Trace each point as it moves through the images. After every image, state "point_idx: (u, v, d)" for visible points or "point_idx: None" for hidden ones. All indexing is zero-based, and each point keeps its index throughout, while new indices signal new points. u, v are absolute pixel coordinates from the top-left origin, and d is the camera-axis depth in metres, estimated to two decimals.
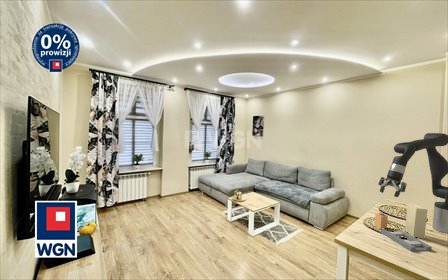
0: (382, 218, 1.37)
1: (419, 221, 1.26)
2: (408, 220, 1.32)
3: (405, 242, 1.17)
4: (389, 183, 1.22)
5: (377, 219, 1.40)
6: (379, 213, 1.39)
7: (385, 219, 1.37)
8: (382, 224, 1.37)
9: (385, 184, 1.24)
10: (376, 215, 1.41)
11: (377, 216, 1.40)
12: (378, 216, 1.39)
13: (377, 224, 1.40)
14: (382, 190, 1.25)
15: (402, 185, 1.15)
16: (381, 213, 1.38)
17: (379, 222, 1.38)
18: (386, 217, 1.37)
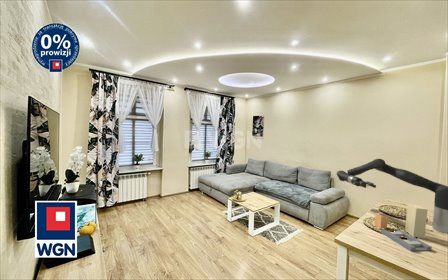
0: (382, 218, 1.37)
1: (419, 221, 1.26)
2: (408, 220, 1.32)
3: (405, 242, 1.17)
4: (364, 185, 1.56)
5: (377, 219, 1.40)
6: (379, 213, 1.39)
7: (385, 219, 1.37)
8: (382, 224, 1.37)
9: (367, 185, 1.55)
10: (376, 215, 1.41)
11: (377, 216, 1.40)
12: (378, 216, 1.39)
13: (377, 224, 1.40)
14: (373, 186, 1.50)
15: None
16: (381, 213, 1.38)
17: (379, 222, 1.38)
18: (386, 217, 1.37)
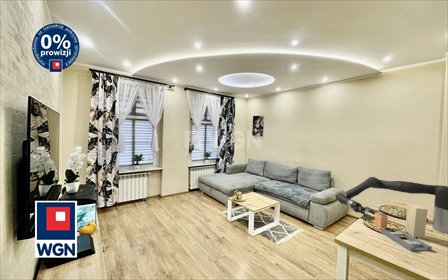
0: (382, 218, 1.37)
1: (419, 221, 1.26)
2: (408, 220, 1.32)
3: (405, 242, 1.17)
4: None
5: (377, 219, 1.40)
6: (379, 213, 1.39)
7: (385, 219, 1.37)
8: (382, 224, 1.37)
9: (366, 211, 1.56)
10: (376, 215, 1.41)
11: (377, 216, 1.40)
12: (378, 216, 1.39)
13: (377, 224, 1.40)
14: (372, 212, 1.51)
15: None
16: (381, 213, 1.38)
17: (379, 222, 1.38)
18: (386, 217, 1.37)
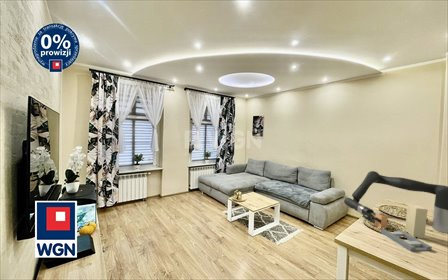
0: (382, 218, 1.37)
1: (419, 221, 1.26)
2: (408, 220, 1.32)
3: (405, 242, 1.17)
4: None
5: None
6: (379, 213, 1.39)
7: (385, 219, 1.37)
8: (382, 224, 1.37)
9: None
10: (376, 215, 1.41)
11: (377, 216, 1.40)
12: (378, 216, 1.39)
13: (377, 224, 1.40)
14: None
15: None
16: (381, 213, 1.38)
17: (379, 222, 1.38)
18: (386, 217, 1.37)
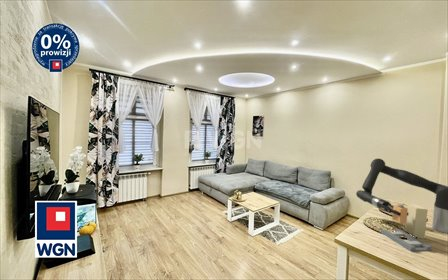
0: (401, 210, 1.23)
1: (419, 221, 1.26)
2: (408, 220, 1.32)
3: (405, 242, 1.17)
4: None
5: None
6: (398, 205, 1.25)
7: (405, 212, 1.23)
8: (401, 217, 1.23)
9: None
10: (394, 207, 1.27)
11: (395, 208, 1.26)
12: (397, 208, 1.25)
13: (395, 217, 1.26)
14: None
15: None
16: (400, 205, 1.25)
17: (398, 215, 1.24)
18: (406, 209, 1.23)
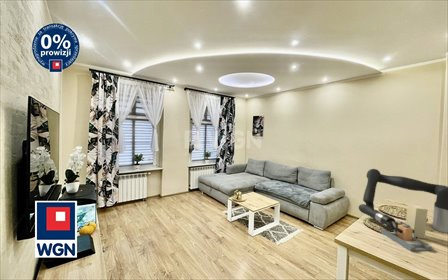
0: (406, 231, 1.20)
1: (419, 221, 1.26)
2: (408, 220, 1.32)
3: (405, 242, 1.17)
4: None
5: None
6: (402, 225, 1.22)
7: (410, 232, 1.20)
8: (406, 238, 1.20)
9: None
10: (399, 227, 1.24)
11: (400, 228, 1.23)
12: (401, 228, 1.22)
13: (400, 237, 1.23)
14: None
15: None
16: (405, 225, 1.21)
17: (403, 235, 1.21)
18: (411, 230, 1.20)
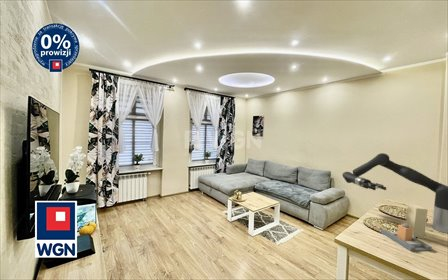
0: (406, 231, 1.20)
1: (419, 221, 1.26)
2: (408, 220, 1.32)
3: (405, 242, 1.17)
4: (372, 187, 1.45)
5: (400, 232, 1.23)
6: (402, 225, 1.22)
7: (410, 232, 1.20)
8: (406, 238, 1.20)
9: (376, 187, 1.44)
10: (399, 227, 1.24)
11: (400, 228, 1.23)
12: (401, 228, 1.22)
13: (400, 237, 1.23)
14: (383, 188, 1.39)
15: None
16: (405, 225, 1.21)
17: (403, 235, 1.21)
18: (411, 230, 1.20)
